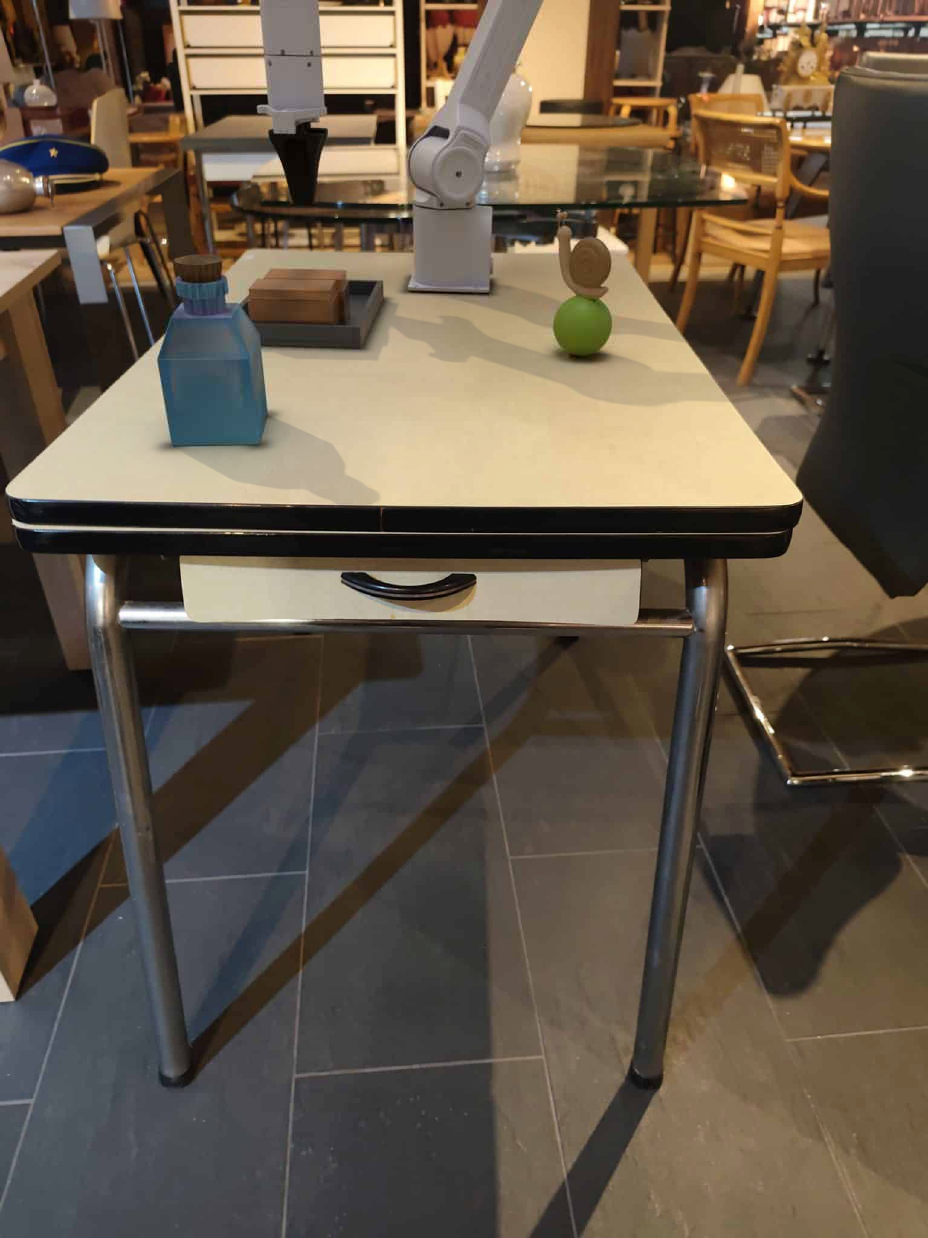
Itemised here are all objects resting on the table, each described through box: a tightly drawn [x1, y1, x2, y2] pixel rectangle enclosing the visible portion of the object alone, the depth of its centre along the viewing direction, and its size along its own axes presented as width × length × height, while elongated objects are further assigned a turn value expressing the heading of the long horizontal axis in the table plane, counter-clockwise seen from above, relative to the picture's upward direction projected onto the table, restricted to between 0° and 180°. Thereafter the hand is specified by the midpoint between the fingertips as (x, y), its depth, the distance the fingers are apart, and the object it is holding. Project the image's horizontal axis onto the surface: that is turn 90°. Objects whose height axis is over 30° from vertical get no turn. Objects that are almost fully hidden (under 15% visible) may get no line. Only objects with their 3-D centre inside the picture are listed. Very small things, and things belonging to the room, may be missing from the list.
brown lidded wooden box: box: [262, 268, 350, 325], centre depth 89 cm, size 8×4×4 cm, turn 90°
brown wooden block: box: [247, 278, 340, 325], centre depth 85 cm, size 8×4×4 cm, turn 90°
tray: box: [239, 278, 385, 349], centre depth 92 cm, size 13×19×2 cm
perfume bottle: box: [156, 254, 269, 447], centre depth 63 cm, size 6×6×12 cm
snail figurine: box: [552, 211, 613, 357], centre depth 81 cm, size 5×6×12 cm
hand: (303, 203), depth 96 cm, fingers closed
